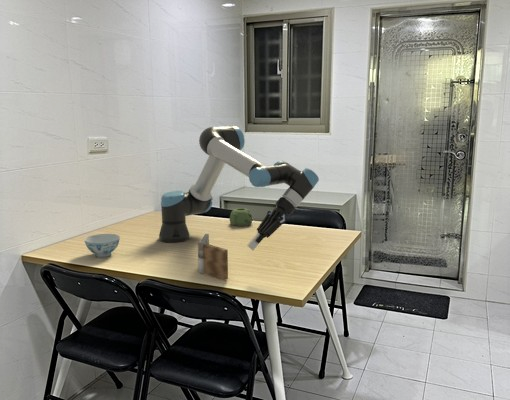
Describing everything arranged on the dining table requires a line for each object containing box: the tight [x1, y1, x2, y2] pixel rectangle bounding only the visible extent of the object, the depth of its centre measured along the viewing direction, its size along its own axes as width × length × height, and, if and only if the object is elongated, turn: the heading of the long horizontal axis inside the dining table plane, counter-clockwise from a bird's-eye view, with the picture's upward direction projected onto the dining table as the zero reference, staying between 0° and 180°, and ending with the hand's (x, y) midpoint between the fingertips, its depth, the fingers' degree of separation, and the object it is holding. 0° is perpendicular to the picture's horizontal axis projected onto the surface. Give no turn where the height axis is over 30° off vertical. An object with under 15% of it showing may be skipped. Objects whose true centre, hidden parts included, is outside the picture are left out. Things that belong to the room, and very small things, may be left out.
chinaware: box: [84, 233, 121, 258], centre depth 209 cm, size 15×15×8 cm
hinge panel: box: [197, 233, 210, 274], centre depth 192 cm, size 15×3×12 cm, turn 177°
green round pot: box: [229, 207, 253, 227], centre depth 263 cm, size 16×13×9 cm
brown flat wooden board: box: [197, 241, 229, 281], centre depth 182 cm, size 15×3×12 cm, turn 47°
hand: (250, 247), depth 182 cm, fingers closed
